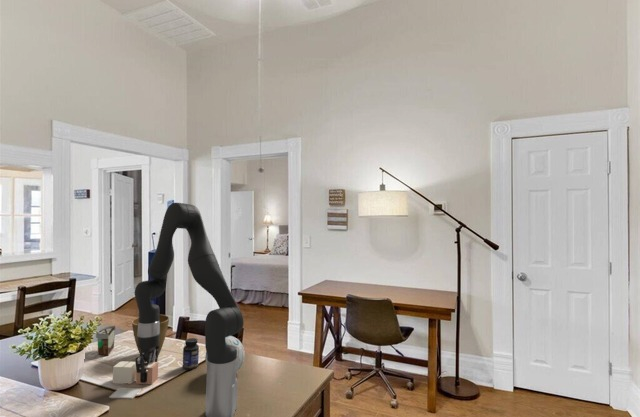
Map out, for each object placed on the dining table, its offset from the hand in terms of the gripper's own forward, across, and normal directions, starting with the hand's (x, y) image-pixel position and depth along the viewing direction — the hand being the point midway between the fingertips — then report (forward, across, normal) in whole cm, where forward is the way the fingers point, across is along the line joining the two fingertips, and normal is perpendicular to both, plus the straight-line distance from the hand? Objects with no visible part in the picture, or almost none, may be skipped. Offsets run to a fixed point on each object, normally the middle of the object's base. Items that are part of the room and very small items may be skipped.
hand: (147, 378), depth 129 cm
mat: (+1, -9, +3) cm, 10 cm away
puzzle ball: (+1, +7, -27) cm, 28 cm away
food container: (+1, +25, +33) cm, 41 cm away
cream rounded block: (+1, 0, +8) cm, 8 cm away
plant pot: (+1, +23, +11) cm, 26 cm away
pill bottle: (+1, +13, -11) cm, 17 cm away
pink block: (+1, 0, 0) cm, 1 cm away
